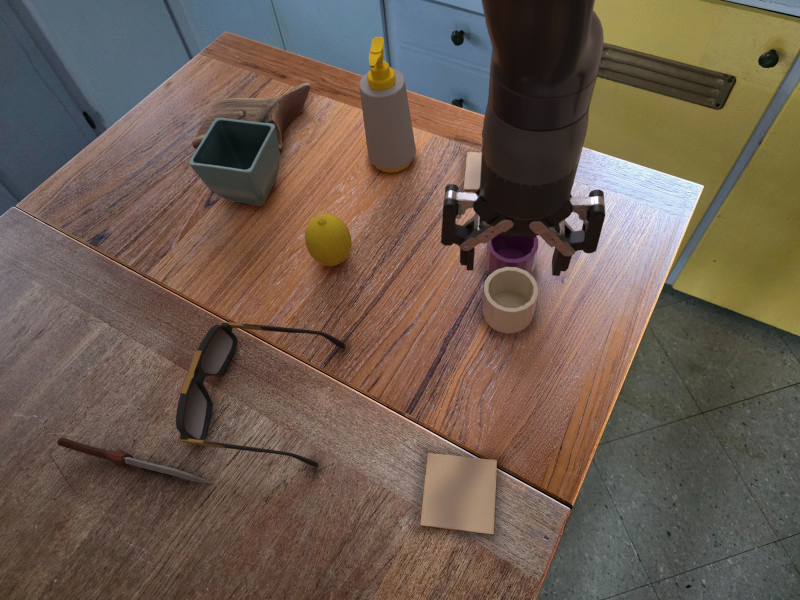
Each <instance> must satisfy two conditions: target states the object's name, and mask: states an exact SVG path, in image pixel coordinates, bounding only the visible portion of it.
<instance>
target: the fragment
mask: <svg viewBox="0 0 800 600" xmlns="http://www.w3.org/2000/svg"><path fill="white" fill-rule="evenodd" d="M311 88H312V83H310V82H303V83H301V84H299V85H296V86H294V87H293V88H291V89H290V90H288V91H286V93H284V94H282V95H281V96H275V97H264V98H263V97H262V98H258V97H257V98H256V97H232V98H223V99H221V100H219V101H217V102H216V103H215V104H214V105H213V106H212V108H211V110H210V111H209V112H208V114H207V116H206V117H205V118H204V120H203V122H202V124H201V126H200V128H199V129H198V131H197V133H196V135H195V137H194V139H193V140H192V142H191V145H192V148H193V149H194V150H196V149H197V148H198V146H199V145H200V143H201V142H202V140H203V138H204V137H205V135H206V133H207V132H208V130H209V128H210V126H211V125H212V123H213V121H214V120H215V119H216V118H227V119H235V120H243V121H252V122H261V123H270V124H274V125H275V129H276V134H277V140H278V145H279V151H280V154H281V153H282V152H283V150H284V149H283V145H284V144H283V135H284V133H285V130H286V127H287V126H288V125H289V123H290V122H291V120H293V119H294V118H296V117H297V116H298V115H299V114H301V112H302V110H304V109H303V108H304V106H305V103H306V101H307V99H308V97H309V94H310V91H311Z"/></svg>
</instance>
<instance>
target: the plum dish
mask: <svg viewBox="0 0 800 600" xmlns="http://www.w3.org/2000/svg"><path fill="white" fill-rule="evenodd" d="M538 251H539V238H538V235H537V236H536V238H528V237H523V236H510V237H508V236H501V234H499V235H497V236H496V237H494V238H493V239H491V240H490V241H489V242H487V243H486V252H485V253H486V254H485V271H486V274H487V275H488V276H489V275H490V274H491V273H493V272H494V271H496V270H497V269H501V268H504V267H517V268H520V269H522V270H525V271H526V272H528V273H529V274H530V275H531V276H533V273H534V271H535V267H536V260H537V256H538ZM488 276H487V277H488Z"/></svg>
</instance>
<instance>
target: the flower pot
mask: <svg viewBox="0 0 800 600" xmlns="http://www.w3.org/2000/svg"><path fill="white" fill-rule="evenodd" d="M188 164H189V166H190V167H191V168H192V169H193V171H194V172H195V174H196V175H197V176H198V177H199V178H200V180H201V181H202V182H203V184H204V185H205V186H206V187H207V188H208V189H209V190H210V191H211V192H212V193H214V195H217V196H219V197H221V198H223V199H224V200H227V201H230V202H234V203H239V204H245V205H252V206H264V204H265V203H266V201H267V199H268V197H269V195H270V192H271V190H272V188H273V186H274V184H275V182H276V180H277V177H278V173H279V170H280V164H281V153H280V151H279V145H278V140H277V134H276V129H275V125H274V124H270V123H261V122H252V121H243V120H235V119H227V118H216V119H215V120H214V121H213V123H212V125H211V126H210V128H209V130H208V132H207V133H206V135H205V137H204V138H203V140H202V142H201V143H200V145H199V146H198V148H197V149H195V151H194V152H193V154H192V156H191V158H190V159H189V162H188Z"/></svg>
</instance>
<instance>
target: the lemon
mask: <svg viewBox="0 0 800 600" xmlns="http://www.w3.org/2000/svg"><path fill="white" fill-rule="evenodd" d="M304 233H305V234H304V240H305V246H306V249H307V251H308V253H309V255H310V256H311V257H312V258H313V259H314V261H315V262H317V263H318V264H321V265H323V266H326V267H327V266H329V267H331V266H337V265H339V264H342V263H343V262H345V261H346V259H347V258H348V256H349V254H350V253H351V250H352V246H353V245H352V244H353V242H352V235H351V232H350V230H349V227H348V226H347V224H346V223H345V222H344V221H343V220H342V218H341V217H338V216H337V215H335V214H332V213H321V214H318V215H316V216H314V217H313V218H312V219H311V220H310V221H309V222H308V224H307V226H306V228H305V232H304Z"/></svg>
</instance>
